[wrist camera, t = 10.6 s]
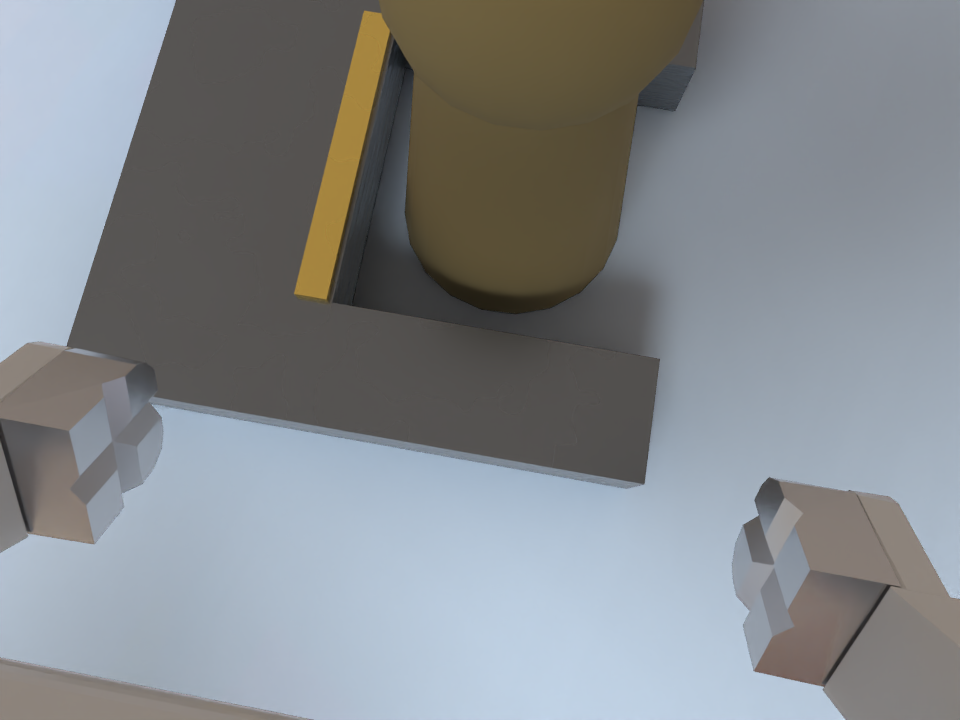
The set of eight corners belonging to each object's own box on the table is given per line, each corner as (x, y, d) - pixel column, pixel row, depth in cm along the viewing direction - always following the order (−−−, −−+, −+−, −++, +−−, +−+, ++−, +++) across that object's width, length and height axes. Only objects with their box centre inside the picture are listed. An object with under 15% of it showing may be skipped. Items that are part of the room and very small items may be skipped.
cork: (530, 76, 21) (585, -391, 10) (664, 229, 20) (881, -112, 9) (362, 191, 20) (229, -186, 9) (492, 357, 19) (509, 146, 8)
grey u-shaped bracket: (686, 22, 21) (709, -34, 19) (626, 488, 18) (646, 483, 16) (232, -48, 22) (206, -110, 20) (99, 394, 19) (51, 377, 17)
